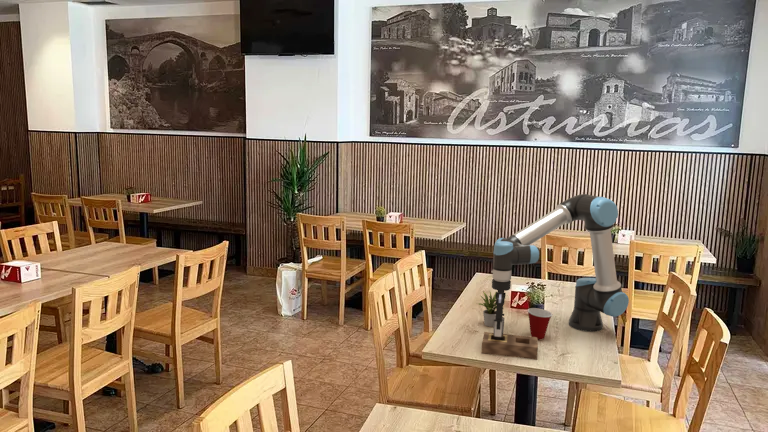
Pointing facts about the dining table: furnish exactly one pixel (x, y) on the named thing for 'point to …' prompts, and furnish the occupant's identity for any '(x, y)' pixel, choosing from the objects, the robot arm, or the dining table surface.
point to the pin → (501, 332)
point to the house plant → (489, 310)
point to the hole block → (510, 346)
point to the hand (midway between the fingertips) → (498, 333)
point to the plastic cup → (538, 322)
